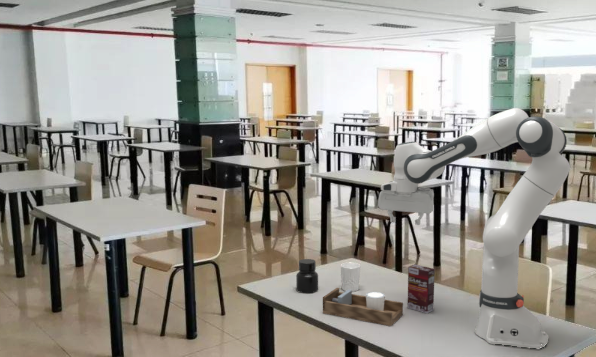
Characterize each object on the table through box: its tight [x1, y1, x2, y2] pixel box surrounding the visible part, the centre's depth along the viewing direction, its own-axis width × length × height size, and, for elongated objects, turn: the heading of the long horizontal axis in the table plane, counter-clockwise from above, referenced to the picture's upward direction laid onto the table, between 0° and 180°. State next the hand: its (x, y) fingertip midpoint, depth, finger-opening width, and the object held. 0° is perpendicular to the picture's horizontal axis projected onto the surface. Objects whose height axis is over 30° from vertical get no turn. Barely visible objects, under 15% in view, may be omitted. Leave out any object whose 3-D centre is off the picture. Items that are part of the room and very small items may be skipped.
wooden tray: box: [322, 287, 404, 327], centre depth 211 cm, size 26×12×6 cm, turn 61°
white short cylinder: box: [365, 291, 386, 311], centre depth 208 cm, size 7×7×7 cm
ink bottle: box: [295, 258, 319, 294], centre depth 237 cm, size 10×9×12 cm
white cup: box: [340, 262, 361, 292], centre depth 237 cm, size 8×8×10 cm
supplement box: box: [406, 264, 436, 314], centre depth 214 cm, size 9×5×16 cm, turn 47°
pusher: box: [332, 290, 353, 305], centre depth 215 cm, size 6×9×5 cm, turn 151°
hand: (405, 223), depth 216 cm, fingers open, 8 cm apart
